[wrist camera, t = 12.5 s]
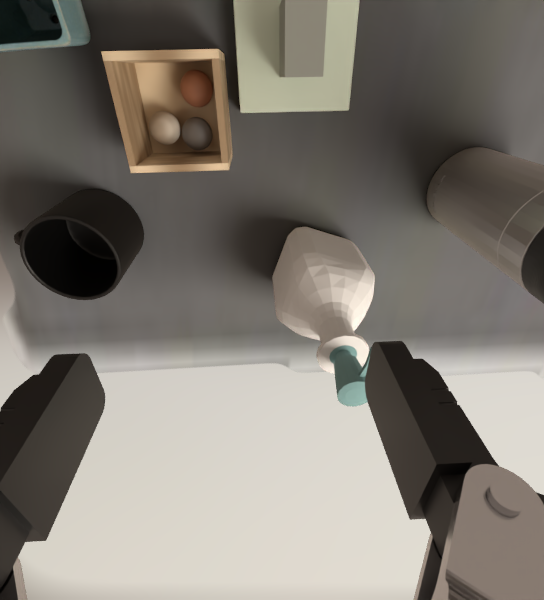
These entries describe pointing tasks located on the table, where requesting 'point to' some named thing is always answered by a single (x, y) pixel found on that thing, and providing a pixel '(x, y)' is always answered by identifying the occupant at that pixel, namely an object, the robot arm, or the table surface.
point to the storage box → (171, 108)
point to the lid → (295, 54)
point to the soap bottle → (327, 303)
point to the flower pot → (42, 24)
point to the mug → (82, 244)
